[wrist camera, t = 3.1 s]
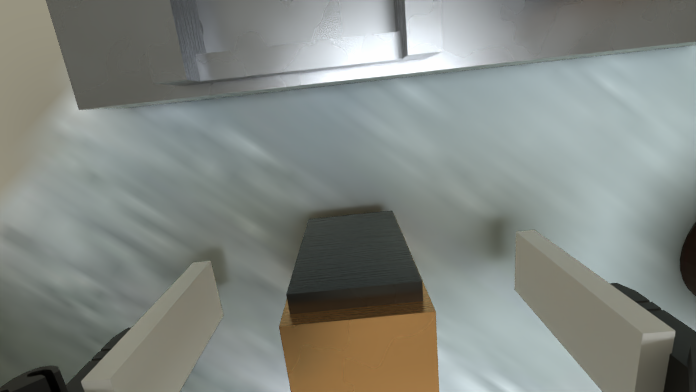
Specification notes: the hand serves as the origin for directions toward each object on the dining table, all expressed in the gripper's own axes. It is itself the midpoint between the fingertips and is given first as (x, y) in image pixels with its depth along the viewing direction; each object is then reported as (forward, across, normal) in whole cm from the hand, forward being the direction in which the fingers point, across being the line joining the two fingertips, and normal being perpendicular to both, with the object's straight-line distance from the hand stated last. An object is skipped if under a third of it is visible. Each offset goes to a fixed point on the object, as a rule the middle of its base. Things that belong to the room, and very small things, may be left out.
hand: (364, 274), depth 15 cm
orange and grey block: (+2, 0, 0) cm, 2 cm away
